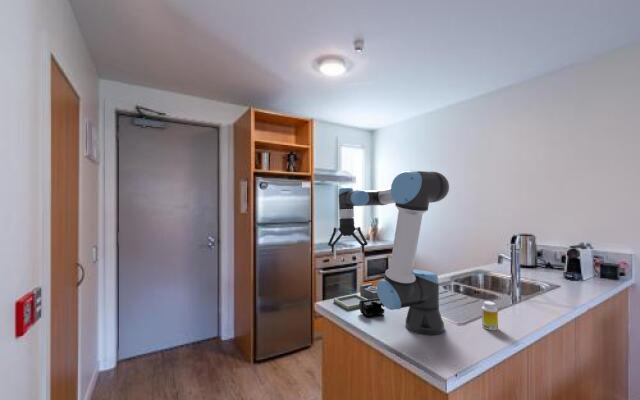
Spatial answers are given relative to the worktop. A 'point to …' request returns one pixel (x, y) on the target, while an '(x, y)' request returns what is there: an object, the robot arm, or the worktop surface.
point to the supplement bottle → (489, 316)
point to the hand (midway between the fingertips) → (348, 259)
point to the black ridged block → (371, 308)
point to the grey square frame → (349, 301)
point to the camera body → (368, 291)
